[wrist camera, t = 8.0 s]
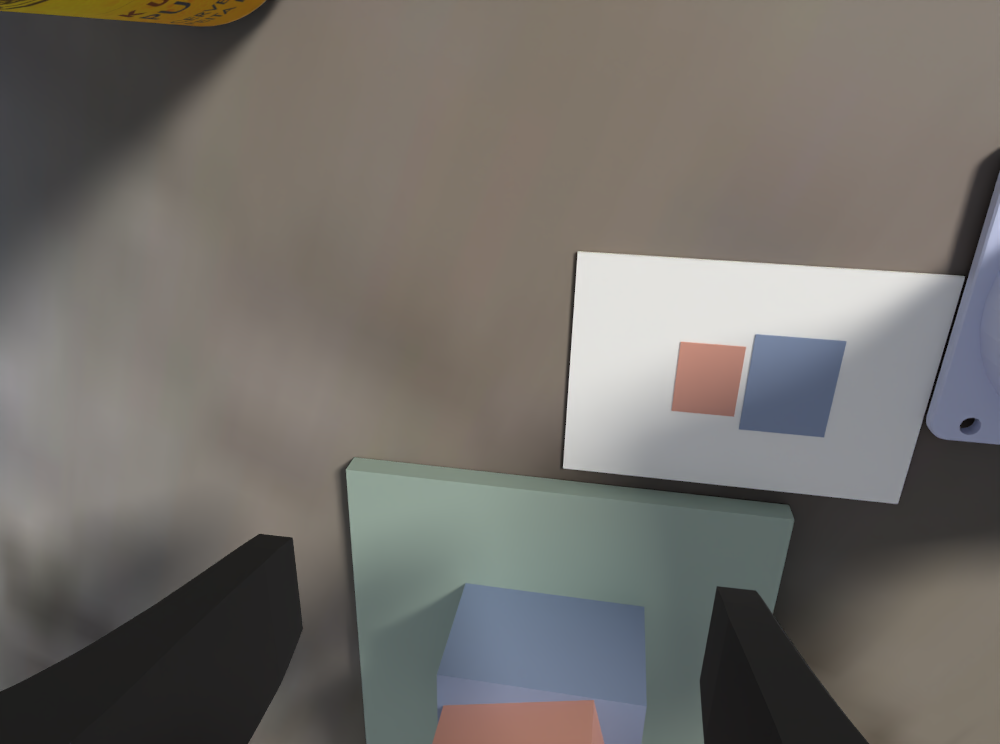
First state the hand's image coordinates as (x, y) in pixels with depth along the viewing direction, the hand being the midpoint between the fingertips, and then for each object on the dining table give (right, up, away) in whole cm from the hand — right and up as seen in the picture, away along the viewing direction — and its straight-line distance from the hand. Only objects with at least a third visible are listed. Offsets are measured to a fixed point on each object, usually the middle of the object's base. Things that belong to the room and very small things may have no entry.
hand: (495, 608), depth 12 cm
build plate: (+2, -6, +14) cm, 15 cm away
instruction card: (+7, +4, +9) cm, 12 cm away
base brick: (+2, -6, +13) cm, 15 cm away
